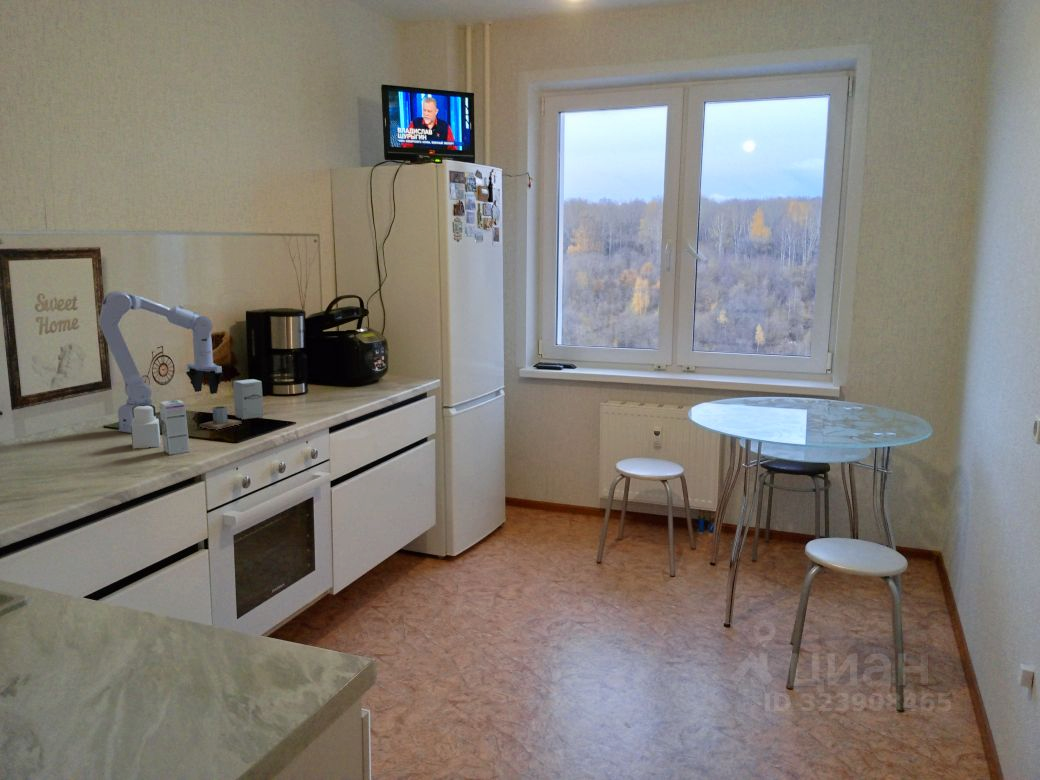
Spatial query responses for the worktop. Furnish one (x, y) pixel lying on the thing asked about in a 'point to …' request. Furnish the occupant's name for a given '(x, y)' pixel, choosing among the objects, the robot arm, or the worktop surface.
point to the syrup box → (174, 427)
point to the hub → (220, 415)
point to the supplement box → (248, 398)
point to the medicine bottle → (145, 427)
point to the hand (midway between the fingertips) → (205, 392)
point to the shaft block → (219, 426)
